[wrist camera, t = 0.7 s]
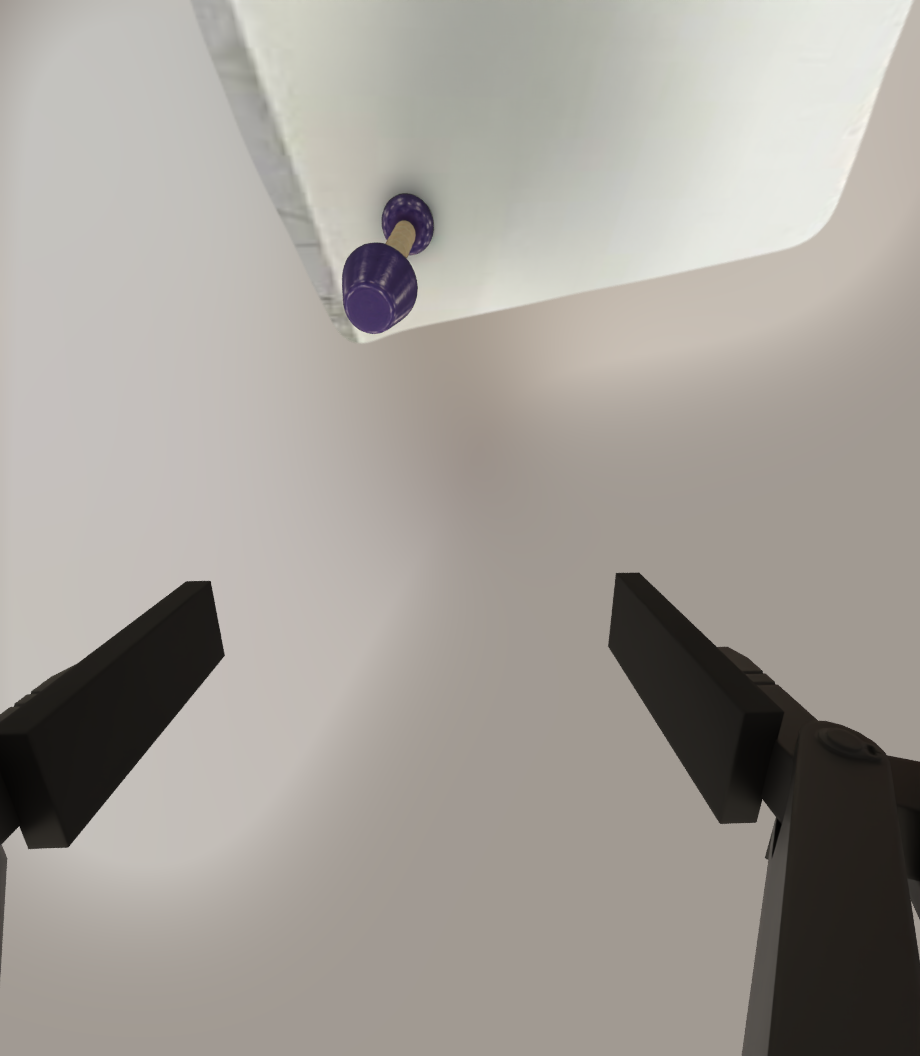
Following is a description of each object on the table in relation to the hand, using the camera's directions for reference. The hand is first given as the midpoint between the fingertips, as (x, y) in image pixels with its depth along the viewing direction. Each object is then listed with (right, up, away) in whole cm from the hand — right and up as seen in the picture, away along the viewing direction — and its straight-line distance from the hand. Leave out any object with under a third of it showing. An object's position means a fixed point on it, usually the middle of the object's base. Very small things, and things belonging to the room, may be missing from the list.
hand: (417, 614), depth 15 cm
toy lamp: (-3, +28, +22) cm, 36 cm away
